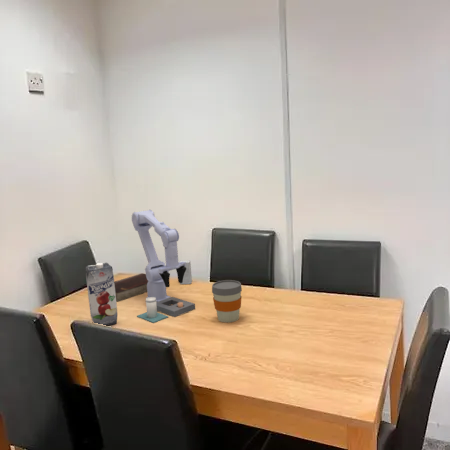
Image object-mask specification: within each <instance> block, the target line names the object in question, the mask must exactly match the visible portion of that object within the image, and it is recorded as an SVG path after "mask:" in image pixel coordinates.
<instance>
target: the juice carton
mask: <svg viewBox="0 0 450 450" xmlns="http://www.w3.org/2000/svg"><path fill="white" fill-rule="evenodd" d="M85 279H86V286H87V287H86V288H87V298H88V303H89V313H90V318H91V320H92V323H93V322H94V323H98V324H103V325H108V326H112V325H116V324H117V321H118V305H117V303H118V302H116V294H115V284H114V282H115V278H114V272H113V266H111V265H110V264H109V263H108V262H97V263H96V264H91V265H87V266H85ZM94 323H93V324H94Z"/></svg>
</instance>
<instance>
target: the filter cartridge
mask: <svg viewBox="0 0 450 450" xmlns="http://www.w3.org/2000/svg"><path fill="white" fill-rule="evenodd" d="M147 297H148V296H147ZM145 306H146V307H145V308H146V312H147V317H148V318H155V317H157V313H158V311H157V305H156V298H155V297H148V298H146V297H145Z"/></svg>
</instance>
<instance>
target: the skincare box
mask: <svg viewBox="0 0 450 450" xmlns="http://www.w3.org/2000/svg"><path fill="white" fill-rule="evenodd" d="M179 262H186V266H185V267H186V271H185V273H184V277H183V282H182V283H179V285H190V284H192V282H193V279H192V278H193V276H192V266H191V265H192V264H191V260H178V263H179Z"/></svg>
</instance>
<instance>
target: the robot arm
mask: <svg viewBox="0 0 450 450" xmlns="http://www.w3.org/2000/svg"><path fill="white" fill-rule="evenodd" d="M131 222H132V225H133V229H134V230H135V231H136V232H137V233H138V236H139V239H140V242H141V245H142V248H143V251H144V255H145V257H146V260H147V261H148V264H147V265H146V266H145V268H144V270H145V274H146V278H147V280H148V283H147V292H146V293H147V296H146V297H145V299H146V298H148V297H155V298H156V302H159V301H162V300H165V299H167V298H170V297H171V296H169V295H168V294H167V288H170V284H171V283H170V277H171V272H169V271H173V270H175V271H176V274H177V280H178V283H179V284H180V283H182V282H183V277H184V273H185V271H186V267H185V266H186V262H179V255H178V254H179V252H178V251H179V250H178V241H179V239H180V235H179V234H180V233H179V232H178V230H177V229H176V228H170V226H168V225H167V224H166V223H165V222H164V221H159V220H158V219H157V217H156V216H155V212H154V211H153V210H152V209H147V210H141V211H134V212H132V215H131ZM151 228H154V230H153V231H154V232H155V233H156V234H157V235H158V236H159V237H160V239H161V242H162V246H163V247H164V255H165V257H164V258H165V262H164V261H162V260H160V259H159V258H158V254H157V251H156V248H155V246H154V243H153V240H152V237H151V235H150V231H149V230H150V229H151ZM178 262H179V263H178Z"/></svg>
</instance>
